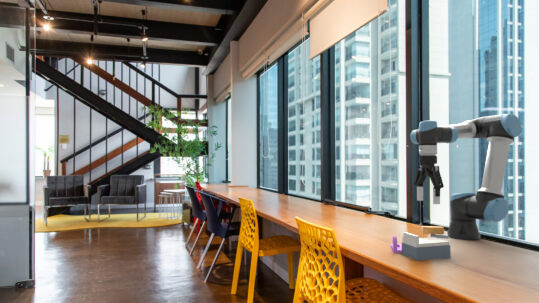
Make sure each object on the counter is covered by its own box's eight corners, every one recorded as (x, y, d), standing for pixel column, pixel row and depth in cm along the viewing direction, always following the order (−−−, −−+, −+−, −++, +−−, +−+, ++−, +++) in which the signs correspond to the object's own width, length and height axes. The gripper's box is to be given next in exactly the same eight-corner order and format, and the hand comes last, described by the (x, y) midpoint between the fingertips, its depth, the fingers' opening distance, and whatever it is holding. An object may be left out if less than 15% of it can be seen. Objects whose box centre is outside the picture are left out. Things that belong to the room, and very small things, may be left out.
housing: (433, 247, 163) (433, 236, 163) (462, 256, 146) (462, 244, 146) (392, 250, 157) (391, 238, 157) (417, 260, 141) (417, 248, 141)
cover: (434, 240, 154) (433, 230, 154) (449, 245, 145) (449, 234, 145) (402, 242, 150) (402, 232, 150) (416, 247, 141) (416, 236, 141)
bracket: (407, 253, 151) (407, 237, 152) (393, 253, 153) (393, 237, 153) (402, 246, 164) (402, 231, 164) (389, 246, 165) (389, 231, 165)
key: (421, 246, 161) (421, 226, 161) (447, 247, 159) (446, 226, 159) (423, 247, 158) (422, 227, 159) (449, 248, 157) (448, 227, 157)
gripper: (406, 155, 171) (406, 199, 170) (435, 154, 146) (435, 205, 145) (421, 155, 171) (421, 199, 171) (452, 154, 146) (452, 205, 146)
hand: (427, 202), depth 158 cm, fingers open, 13 cm apart
